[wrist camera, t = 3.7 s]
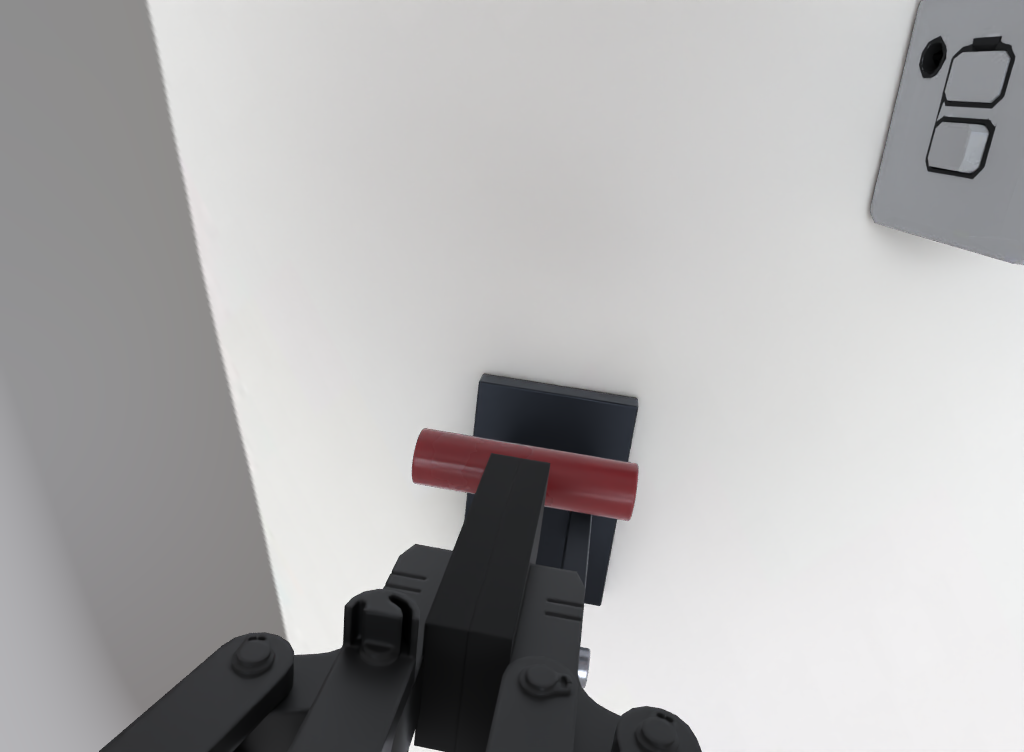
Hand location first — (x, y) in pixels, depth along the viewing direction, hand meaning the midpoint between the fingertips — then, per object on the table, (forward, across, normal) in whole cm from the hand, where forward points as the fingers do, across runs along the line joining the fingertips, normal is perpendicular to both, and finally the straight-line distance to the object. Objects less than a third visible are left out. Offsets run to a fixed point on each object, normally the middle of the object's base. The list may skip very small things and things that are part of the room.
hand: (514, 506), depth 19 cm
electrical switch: (+20, +15, +11) cm, 27 cm away
